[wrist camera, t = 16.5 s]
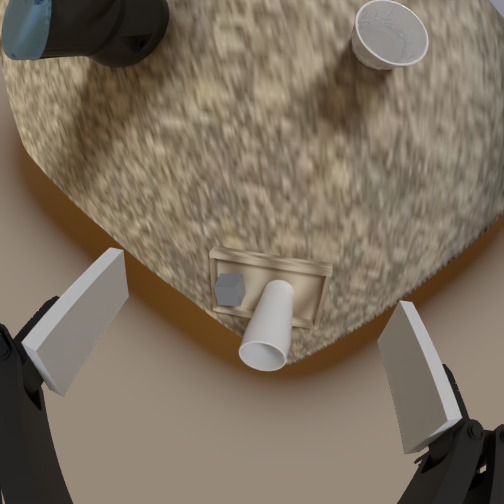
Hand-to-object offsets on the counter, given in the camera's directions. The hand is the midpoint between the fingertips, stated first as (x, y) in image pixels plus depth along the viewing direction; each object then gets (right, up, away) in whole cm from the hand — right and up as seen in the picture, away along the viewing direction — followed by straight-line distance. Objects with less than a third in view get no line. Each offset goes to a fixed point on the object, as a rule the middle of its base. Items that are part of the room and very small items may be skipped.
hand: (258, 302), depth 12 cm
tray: (+3, -4, +37) cm, 37 cm away
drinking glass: (+5, -4, +36) cm, 37 cm away
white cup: (+16, +29, +14) cm, 36 cm away
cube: (-4, -3, +37) cm, 38 cm away
